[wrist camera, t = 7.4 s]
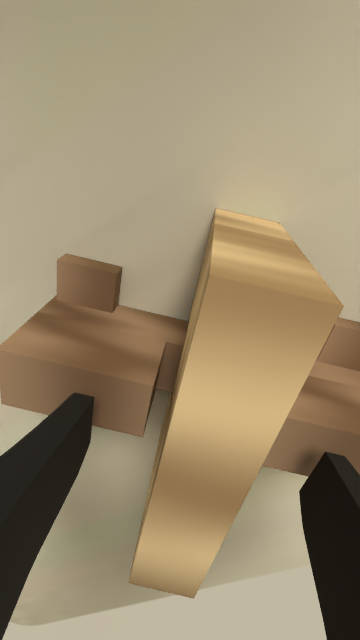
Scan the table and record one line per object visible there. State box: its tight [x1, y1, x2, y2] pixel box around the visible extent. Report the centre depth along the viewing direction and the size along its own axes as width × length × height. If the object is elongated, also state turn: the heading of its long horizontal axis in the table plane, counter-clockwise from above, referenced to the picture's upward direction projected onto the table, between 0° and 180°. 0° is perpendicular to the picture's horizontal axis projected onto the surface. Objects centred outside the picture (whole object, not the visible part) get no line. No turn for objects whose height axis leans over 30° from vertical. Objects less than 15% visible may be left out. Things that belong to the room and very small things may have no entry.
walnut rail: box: [0, 254, 360, 476], centre depth 13 cm, size 14×6×5 cm, turn 79°
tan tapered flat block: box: [129, 209, 344, 598], centre depth 12 cm, size 12×2×7 cm, turn 169°
